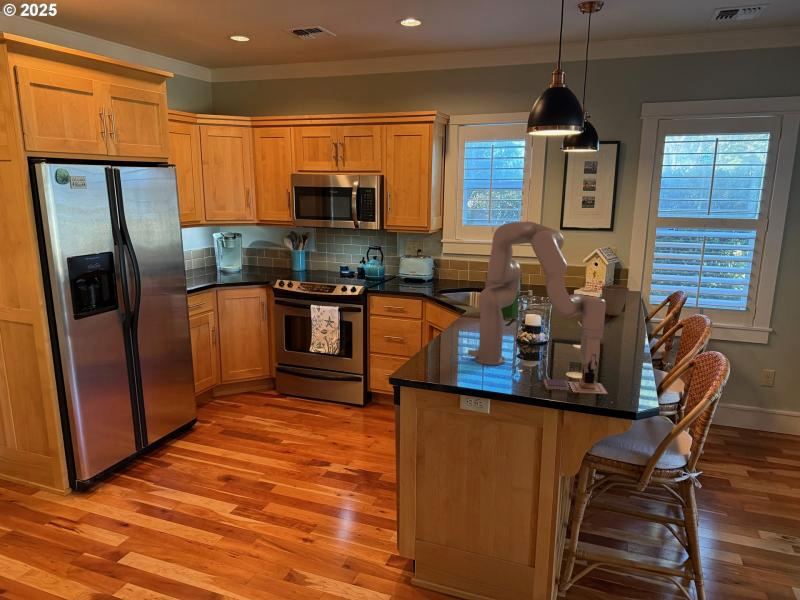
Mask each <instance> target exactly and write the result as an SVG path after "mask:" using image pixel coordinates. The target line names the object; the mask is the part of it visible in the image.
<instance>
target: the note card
mask: <svg viewBox="0 0 800 600" xmlns="http://www.w3.org/2000/svg"><path fill="white" fill-rule="evenodd" d="M568 383H569V384H568ZM595 383H596V389H595V390H592V389H581V388H580V386H579V381H567V384H568V386H569V385H570V386H569V388H570V387H571V388H570V389H572V390H571V391H573V392H572V393H578V392H579V393H581V394H583V393H584V394H601V395H608V391H607V389H605V387H604V385H603V384H602V383H599V382H595ZM579 393H578V394H579Z"/></svg>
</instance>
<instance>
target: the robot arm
mask: <svg viewBox="0 0 800 600" xmlns="http://www.w3.org/2000/svg"><path fill="white" fill-rule="evenodd" d="M564 243H565V241H564V237H563V235H562V234H561V233H560V232H559V231H558V230H556V229H552V228H551V227H548V226H545V225H543V224H539V223H536V222H534V221H516V222H515V221H514V222H513V221H512V222H508V223H504V224H502V225H500V226H498V227H497V229H495V231H494V233H493V236H492V244H491V251H490V254H489V260H488V266H487V271H486V273H487V279H488V281H489V282H490V283H491V284H495V285H498V286H492V287H488V288H486V289H485V288H484V289H483V290H481V292H480V293H479V295H478V305H479V311H480V313H479V316H480V320H479V337H478V338H479V340H478V344H479V345H478V348H477V349H475V350H473V349H468V350H467V355H470V356H471V357H473V356H474V360H475V362H476V363H479V364H481V365H485V366H486V365H487V366H498V365H499V366H500V365H503V364H505V363H506V358H505V357H504V356H502V355H503V354H502V353H503V339H504V338H503V337H504V336H503V335H504V317H503V315H502V311H501V308H503V307H507V306H510V305H511V304H513V302H514V301H515V299H516V295H517V291H518V286H519V281H520V282H521V274H522V273H521V272H522V271H521V266H520V265H519V263H518V262H517V261H516V260H514V259H512V258H513V255H514V254H513V253H514V251H513V245H521V244H522V245H523V244H530V246H531V248H532V250H533V252H534V255H535V256H536V259H537V260H538V262H539V264H540V266H541V268H542V271H543V272H544V274H545V287H546V289H545V290H546V294H547V297H548V299H549V301H550V304H551V305H552V307H553V309H554V311H555V312H556V314H558V315H559V316H560V317H562V318H571V317H574V316H579V315H581V324H580V325H581V327H580V337H581V342H580V347H579V355H578V356H579V360H580V361H581V363H582V373H581V379H583V375H584V365H586V364H587V365H586V372H585V380H584V382H585V383H594V381H595V373H596V367H597V366H598V365H599V363H600V354H601V353H600V350H601V339H603V338H604V330H605V329H604V328H605V319H606V318H605V317H606V312H605V308H606V302H605V300H603V298H600V297H591V296H588V295H584V294H581V293H574V294H570V295H569V293H568V291H567V288H566V285H565V283H564V282H565V281H564V277H565V274H566V272H567V270H568V264H567V262H566V259H565V258H564V256H563V254H562V251H561V249H562V248H563V247H564V245H565V244H564ZM519 287H520V286H519ZM589 363H591V364H589ZM589 366H591V367H589Z"/></svg>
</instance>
